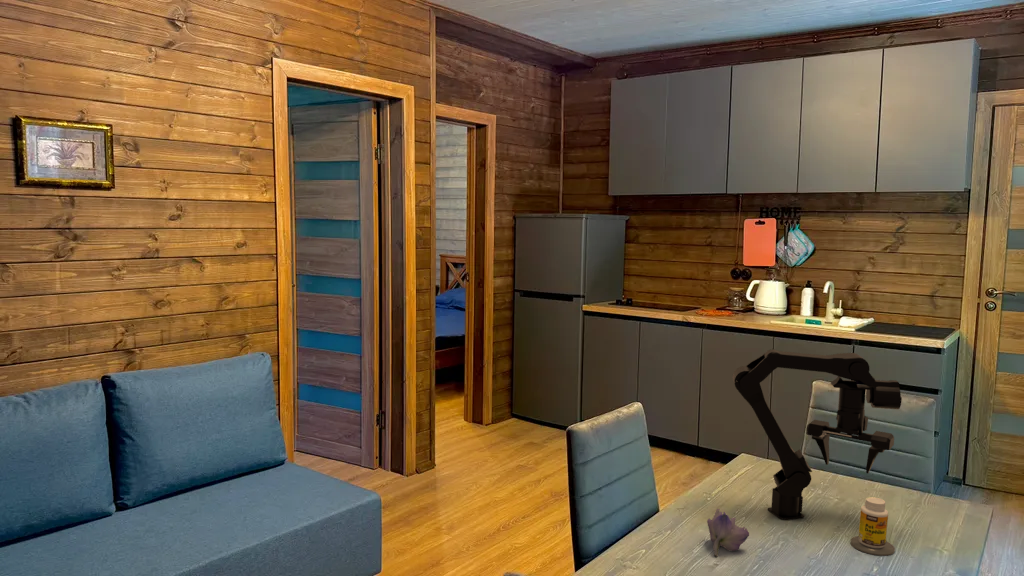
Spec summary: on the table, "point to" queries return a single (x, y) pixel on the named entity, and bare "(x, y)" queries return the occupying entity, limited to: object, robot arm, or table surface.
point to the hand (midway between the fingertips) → (847, 468)
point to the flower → (725, 532)
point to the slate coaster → (884, 551)
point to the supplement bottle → (873, 523)
